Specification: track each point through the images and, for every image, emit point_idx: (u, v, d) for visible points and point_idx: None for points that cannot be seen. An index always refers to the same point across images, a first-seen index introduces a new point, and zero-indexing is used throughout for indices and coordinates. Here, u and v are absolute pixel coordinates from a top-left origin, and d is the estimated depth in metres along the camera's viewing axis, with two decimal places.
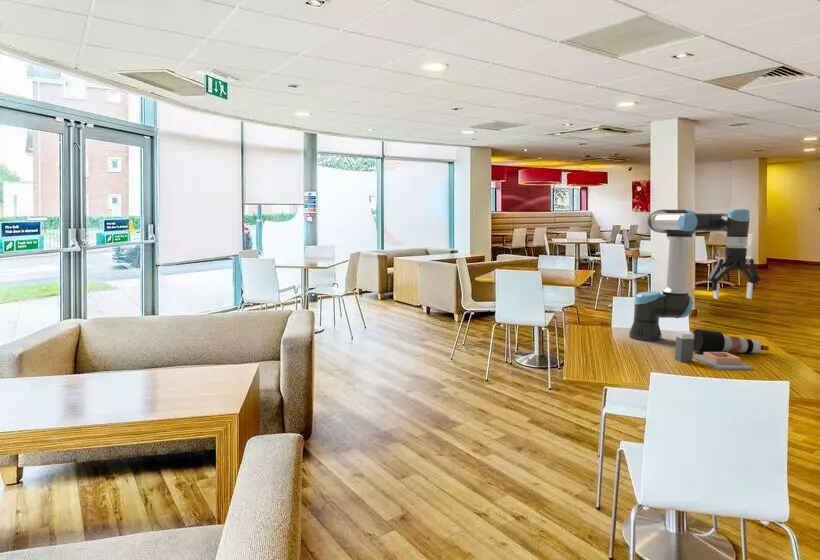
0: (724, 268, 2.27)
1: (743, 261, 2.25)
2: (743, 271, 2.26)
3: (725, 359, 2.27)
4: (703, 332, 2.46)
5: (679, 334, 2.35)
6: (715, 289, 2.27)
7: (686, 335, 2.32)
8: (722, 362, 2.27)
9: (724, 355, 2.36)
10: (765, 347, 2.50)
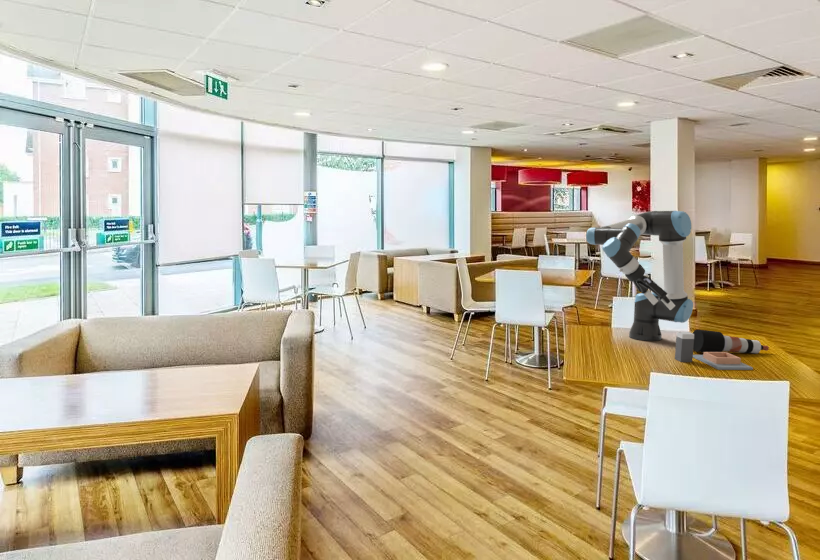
0: None
1: (641, 281, 2.28)
2: None
3: (725, 359, 2.27)
4: (703, 332, 2.46)
5: (679, 334, 2.35)
6: None
7: (686, 335, 2.32)
8: (722, 362, 2.27)
9: (724, 355, 2.36)
10: (765, 347, 2.50)
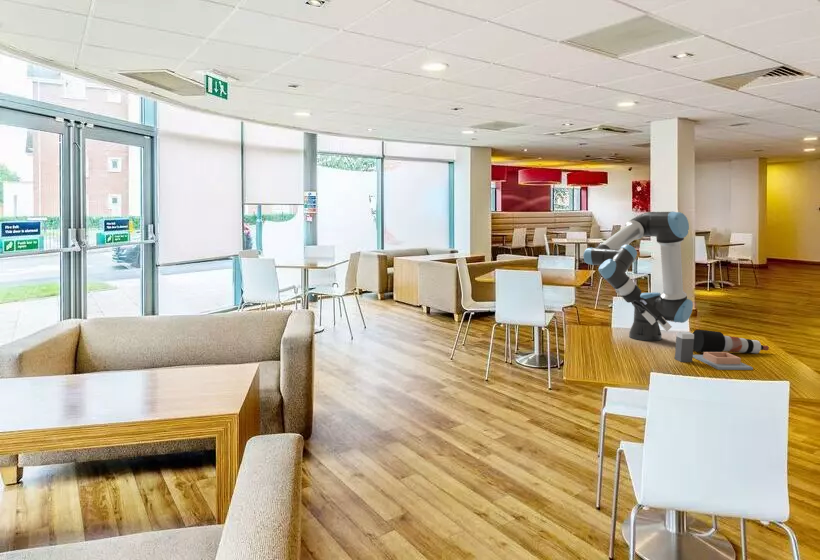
0: None
1: (638, 302, 2.30)
2: None
3: (725, 359, 2.27)
4: (704, 332, 2.45)
5: (679, 334, 2.35)
6: None
7: (686, 335, 2.32)
8: (722, 362, 2.27)
9: (724, 355, 2.36)
10: (765, 347, 2.50)
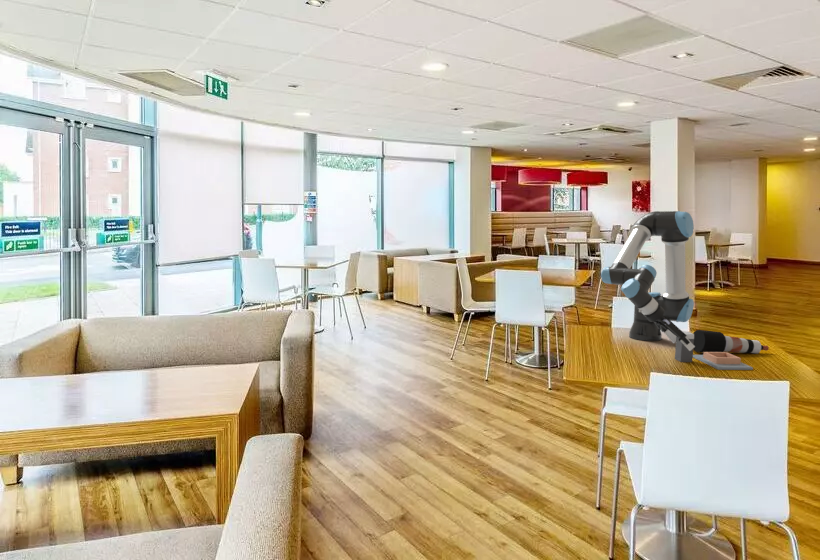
0: None
1: (661, 322, 2.31)
2: None
3: (725, 359, 2.27)
4: (704, 333, 2.45)
5: None
6: None
7: None
8: (722, 362, 2.27)
9: (724, 355, 2.36)
10: (765, 347, 2.50)
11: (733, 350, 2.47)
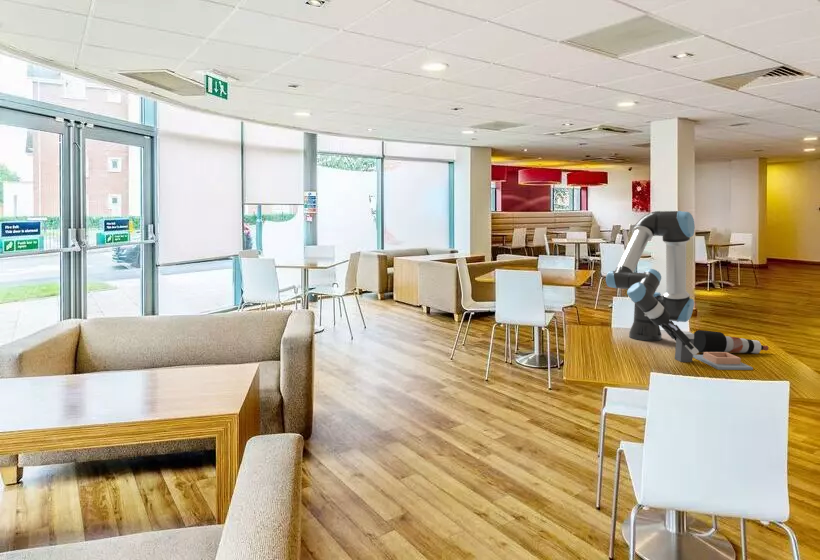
0: None
1: (666, 325, 2.31)
2: None
3: (725, 359, 2.27)
4: (705, 333, 2.44)
5: None
6: None
7: (686, 335, 2.32)
8: (722, 362, 2.27)
9: (724, 355, 2.36)
10: (765, 347, 2.50)
11: (733, 350, 2.46)
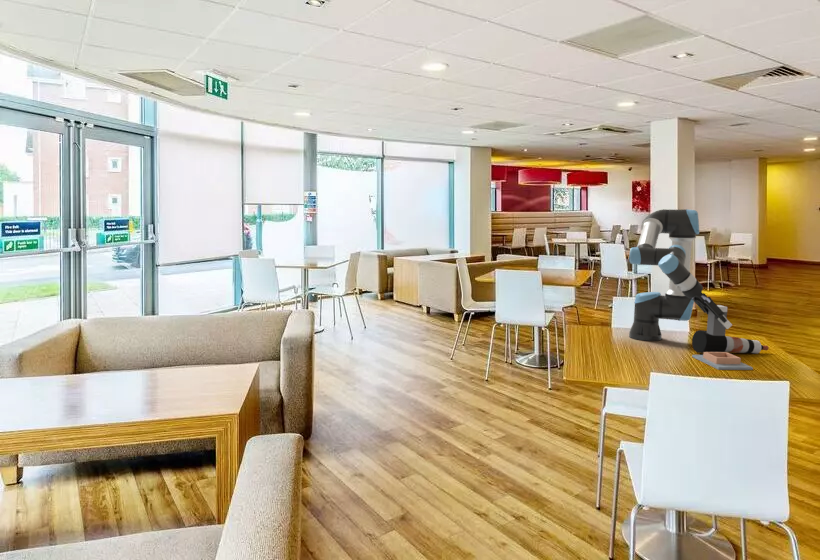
0: None
1: (699, 298, 2.26)
2: None
3: (725, 359, 2.27)
4: (706, 333, 2.44)
5: None
6: None
7: None
8: (722, 362, 2.27)
9: (724, 355, 2.36)
10: (765, 347, 2.50)
11: (734, 350, 2.46)
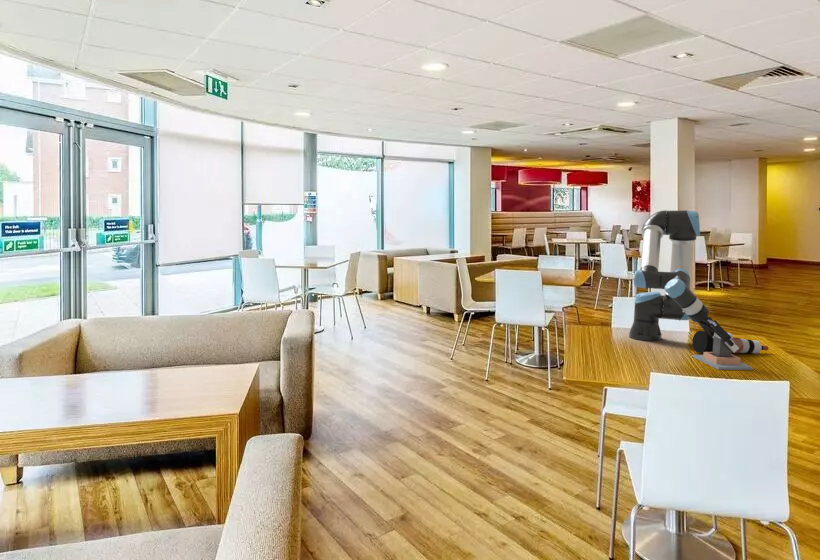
0: None
1: (705, 322, 2.27)
2: None
3: (725, 359, 2.27)
4: None
5: None
6: None
7: None
8: (722, 362, 2.27)
9: None
10: (765, 347, 2.50)
11: None
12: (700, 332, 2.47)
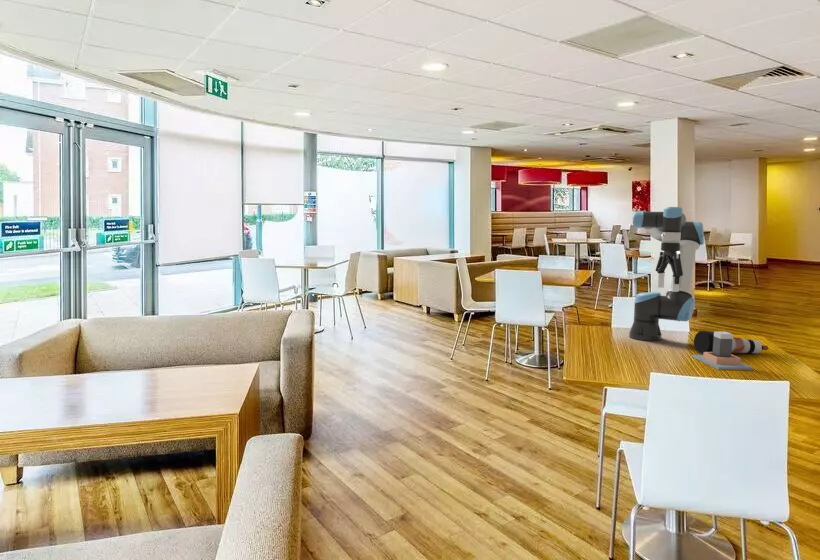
0: None
1: (670, 255, 2.42)
2: None
3: (725, 359, 2.27)
4: (709, 334, 2.42)
5: (717, 334, 2.31)
6: None
7: (724, 335, 2.28)
8: (722, 362, 2.27)
9: None
10: (765, 347, 2.50)
11: (735, 351, 2.45)
12: (702, 332, 2.45)
